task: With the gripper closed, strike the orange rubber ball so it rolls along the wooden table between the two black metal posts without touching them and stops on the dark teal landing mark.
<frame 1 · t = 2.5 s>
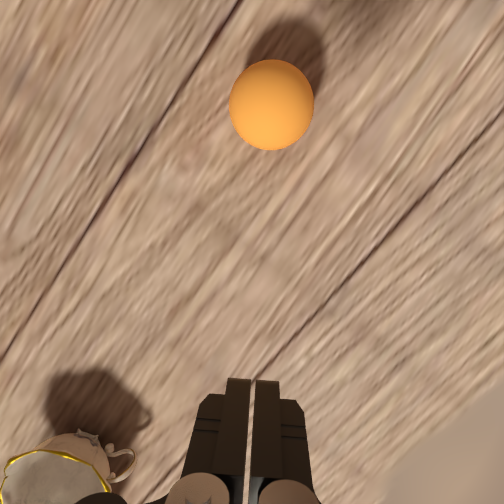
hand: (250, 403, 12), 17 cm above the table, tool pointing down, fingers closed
ball: (271, 106, 23), on the table
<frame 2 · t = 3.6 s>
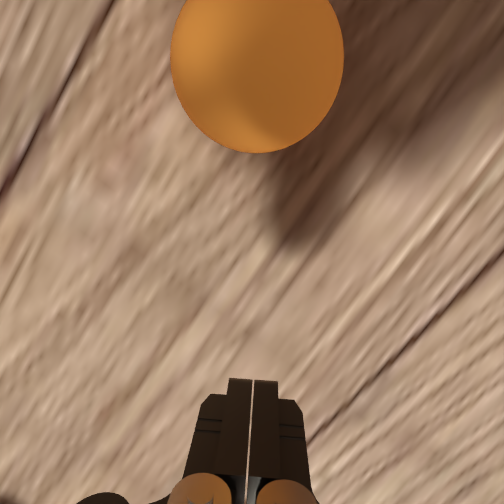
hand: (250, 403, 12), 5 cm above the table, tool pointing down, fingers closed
ball: (256, 65, 11), on the table
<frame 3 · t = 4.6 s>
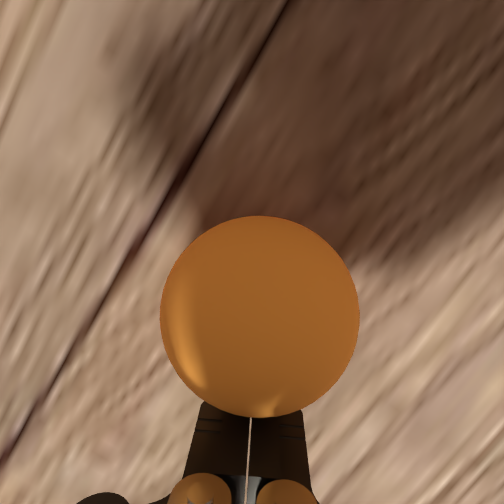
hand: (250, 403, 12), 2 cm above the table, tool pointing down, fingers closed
ball: (259, 312, 10), on the table, touching gripper
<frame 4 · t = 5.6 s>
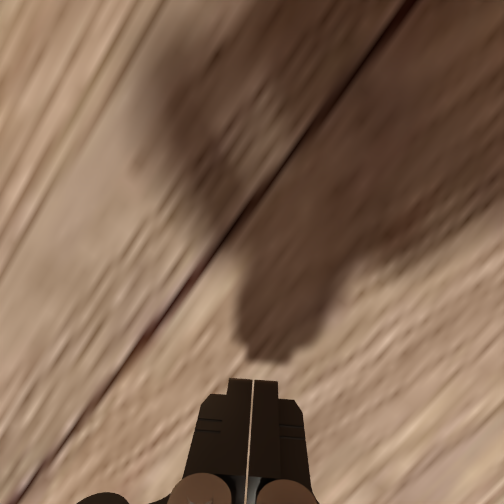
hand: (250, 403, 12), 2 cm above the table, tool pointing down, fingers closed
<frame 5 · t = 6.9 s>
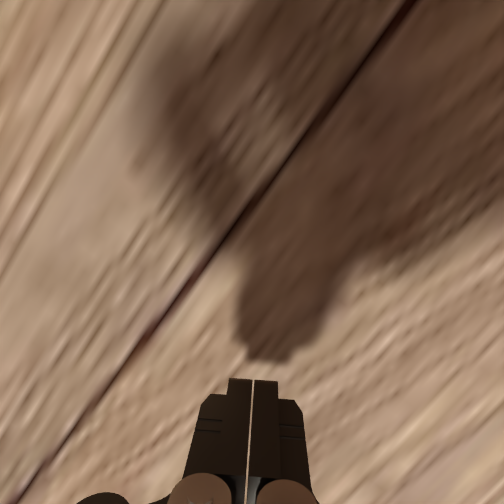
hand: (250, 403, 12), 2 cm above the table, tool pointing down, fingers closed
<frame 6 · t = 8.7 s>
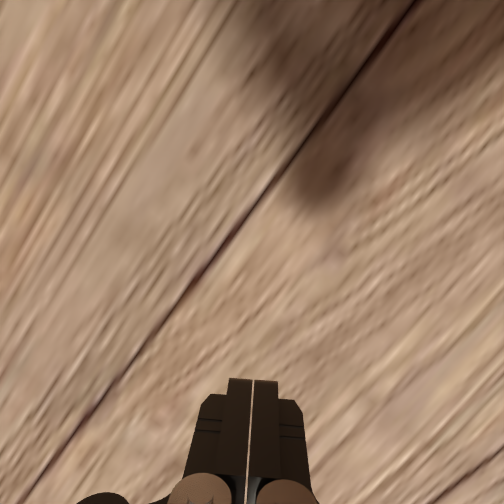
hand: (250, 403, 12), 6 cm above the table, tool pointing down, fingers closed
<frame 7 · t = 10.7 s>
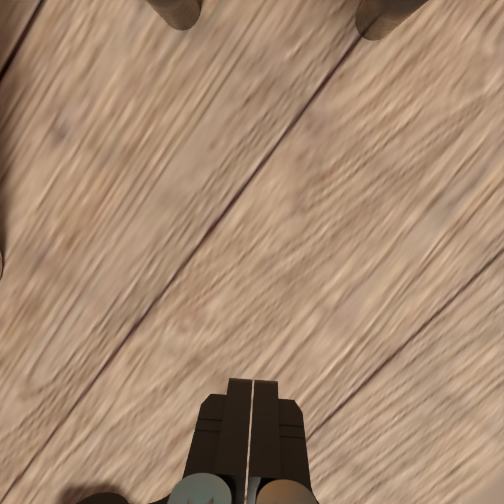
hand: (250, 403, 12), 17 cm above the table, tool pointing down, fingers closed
post 1: (375, 18, 24), on the table
post 2: (180, 8, 24), on the table
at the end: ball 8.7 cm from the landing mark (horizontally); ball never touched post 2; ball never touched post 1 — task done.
